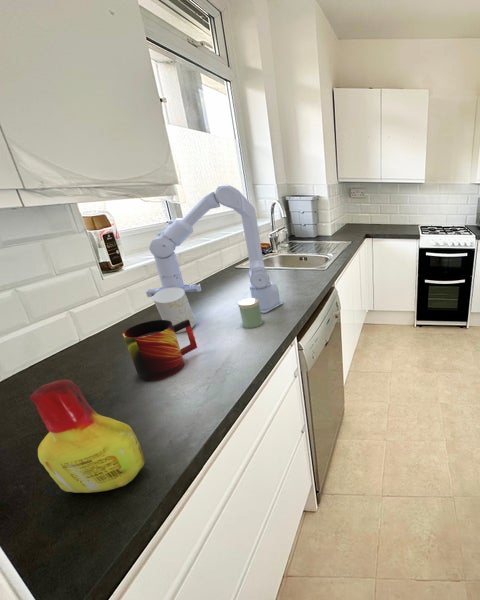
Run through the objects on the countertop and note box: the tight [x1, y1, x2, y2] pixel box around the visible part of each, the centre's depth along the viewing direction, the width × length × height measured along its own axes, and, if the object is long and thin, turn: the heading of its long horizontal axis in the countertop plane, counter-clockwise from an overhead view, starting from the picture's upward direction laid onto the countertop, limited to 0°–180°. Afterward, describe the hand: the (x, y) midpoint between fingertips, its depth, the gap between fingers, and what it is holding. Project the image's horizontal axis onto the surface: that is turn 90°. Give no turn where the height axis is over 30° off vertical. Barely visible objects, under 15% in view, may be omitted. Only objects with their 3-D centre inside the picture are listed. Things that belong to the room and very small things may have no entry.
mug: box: [122, 319, 198, 382], centre depth 80 cm, size 10×14×12 cm
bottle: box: [29, 379, 145, 494], centre depth 47 cm, size 12×6×20 cm, turn 100°
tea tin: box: [237, 297, 264, 329], centre depth 103 cm, size 6×6×8 cm
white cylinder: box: [152, 287, 197, 334], centre depth 99 cm, size 8×8×12 cm
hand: (180, 313), depth 105 cm, fingers closed, pressing on white cylinder
